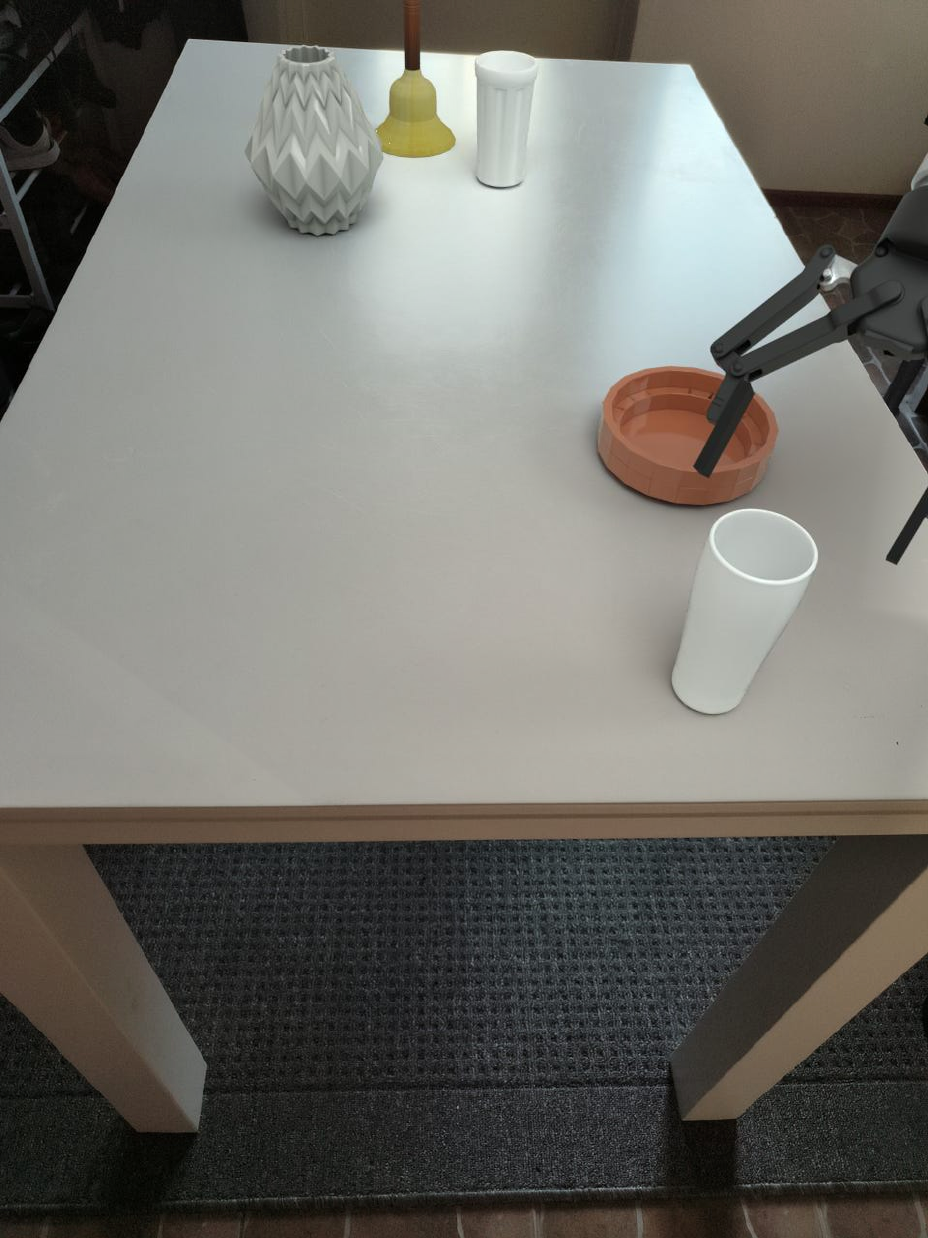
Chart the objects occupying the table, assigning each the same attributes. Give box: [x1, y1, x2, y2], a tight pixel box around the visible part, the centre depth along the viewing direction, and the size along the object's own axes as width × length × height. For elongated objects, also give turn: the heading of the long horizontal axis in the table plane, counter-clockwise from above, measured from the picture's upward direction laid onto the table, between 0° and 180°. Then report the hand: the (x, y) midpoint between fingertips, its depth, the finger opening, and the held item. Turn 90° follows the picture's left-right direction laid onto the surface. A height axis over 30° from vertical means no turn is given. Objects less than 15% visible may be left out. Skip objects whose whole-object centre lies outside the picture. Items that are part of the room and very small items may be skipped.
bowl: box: [597, 365, 779, 506], centre depth 82 cm, size 16×16×4 cm
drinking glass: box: [671, 508, 819, 715], centre depth 60 cm, size 7×7×15 cm
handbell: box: [374, 0, 457, 158], centre depth 119 cm, size 12×12×25 cm
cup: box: [474, 50, 540, 188], centre depth 115 cm, size 8×8×14 cm
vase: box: [244, 44, 384, 237], centre depth 105 cm, size 16×16×18 cm
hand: (791, 515), depth 59 cm, fingers open, 13 cm apart
